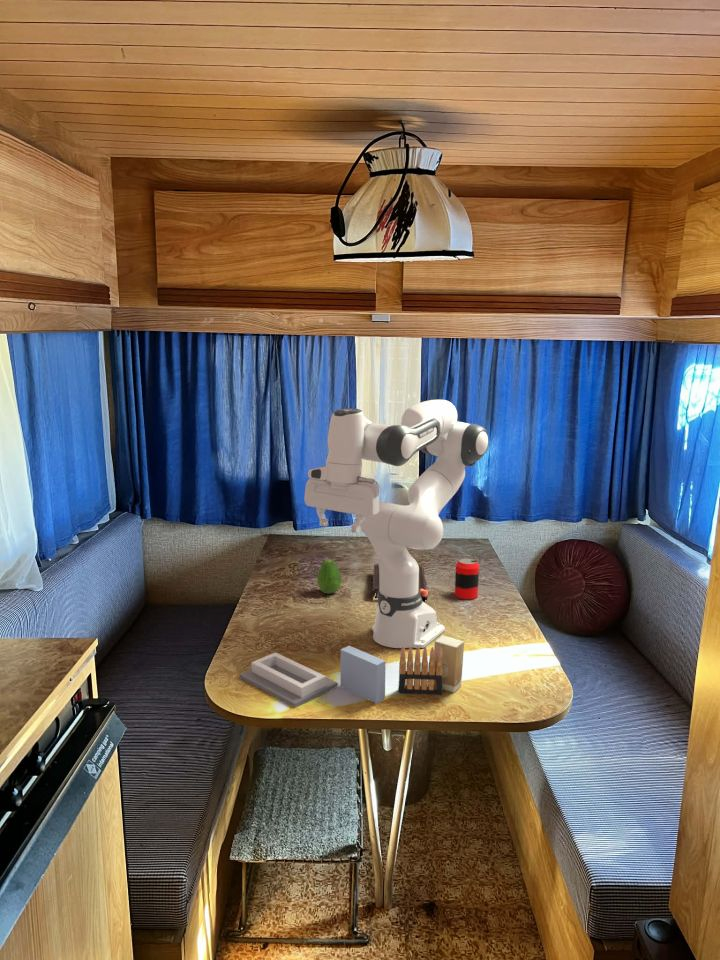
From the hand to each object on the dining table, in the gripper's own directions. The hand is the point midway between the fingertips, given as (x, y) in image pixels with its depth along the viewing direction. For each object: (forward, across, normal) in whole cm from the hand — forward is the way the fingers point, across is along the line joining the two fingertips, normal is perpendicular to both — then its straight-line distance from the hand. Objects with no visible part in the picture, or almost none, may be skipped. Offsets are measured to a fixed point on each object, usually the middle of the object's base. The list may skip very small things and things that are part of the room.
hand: (339, 529), depth 181 cm
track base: (+39, +6, +9) cm, 40 cm away
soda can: (+31, -8, -70) cm, 76 cm away
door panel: (+38, -12, +4) cm, 40 cm away
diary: (+32, +15, -64) cm, 73 cm away
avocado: (+34, +31, -47) cm, 66 cm away
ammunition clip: (+37, -24, -4) cm, 45 cm away
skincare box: (+37, -28, -10) cm, 48 cm away
